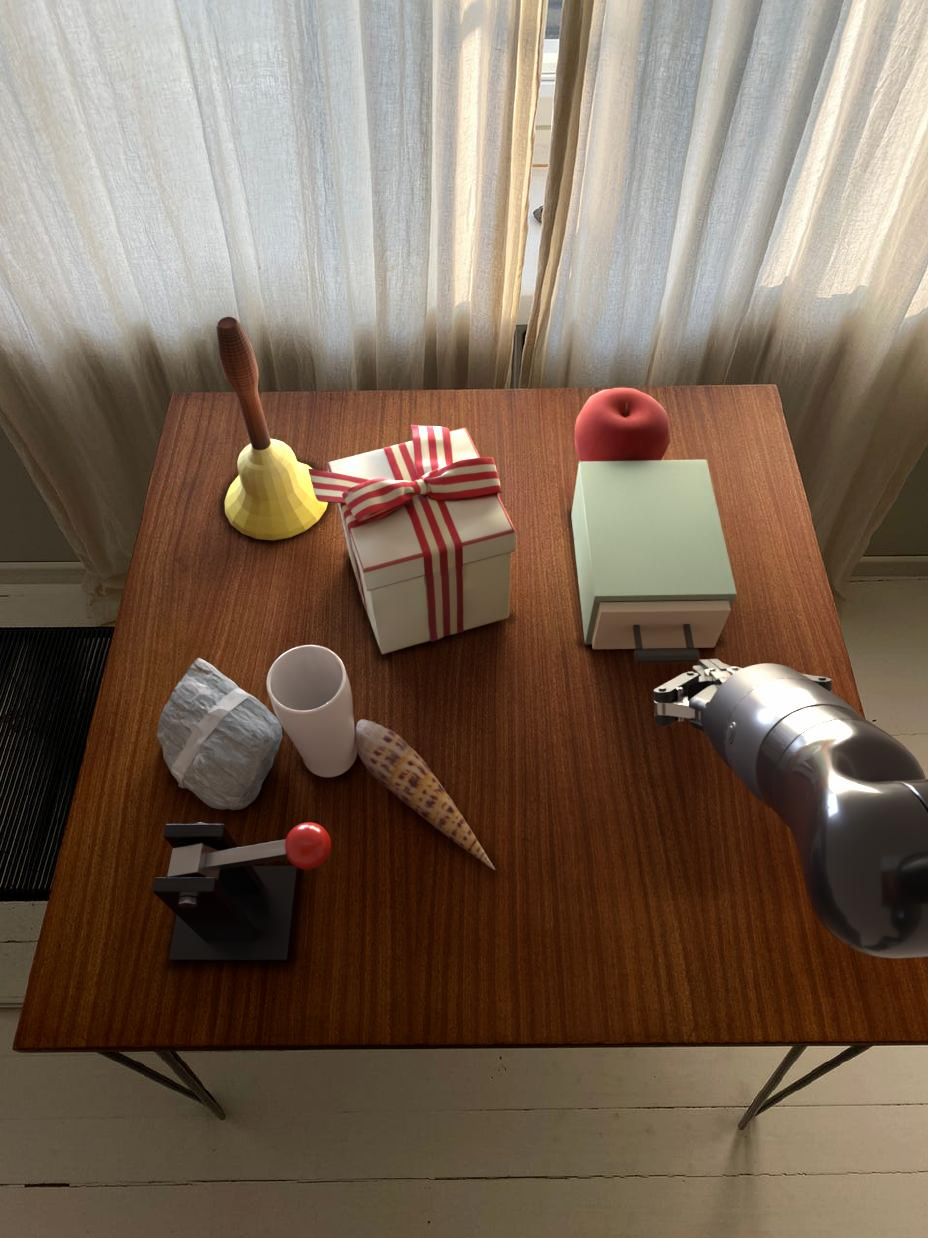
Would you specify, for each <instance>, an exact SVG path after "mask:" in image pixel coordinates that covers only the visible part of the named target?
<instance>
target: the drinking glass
mask: <svg viewBox="0 0 928 1238" xmlns="http://www.w3.org/2000/svg"><path fill="white" fill-rule="evenodd" d="M266 690H267V694H268V697H269V700H270V703H271V706H272V709H273V711H274V715H276V716H275V717H276V718H277V719H278V721H279V723H280V724H281V727H282V729H283V730H284V731H285V733H286V735H287V736H288V737H289V739H290V740H291V742H292V744H293V745H294V747H295V749H296V750H297V752H298V753H299V755H300V757H301V759H302V761H303V764H304V766H305V767H306V768H307V769H308V771H310V773H312V774H314V775H315V776H318V777H321V778H334V777H338V776H340V775H343V774H344V773H346V772H347V771H349V770H350V769H351V767H353V765H354V763H355V761H356V759H357V756H358V750H357V746H356V726H355V715H354V714H355V713H354V699H353V692H352V687H351V683H350V679H349V676H348V673H347V670H346V667H345V665H344V662H343V661H342V659H341V658H340V657H339V656H338V655H337V653H335V652H334V651H333V650H331V649H329V648H328V647H325V646H322V645H317V644H316V645H315V644H305V645H304V644H303V645H299V646H296V647H293V648H291V649H289V650H286V651H285V652H283V653H282V654H281V655H280V656H278V657H277V659H276V660H274V662H273V663H272V665H271V666H270V668H269V670H268V673H267V677H266Z"/></svg>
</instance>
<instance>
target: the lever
mask: <svg viewBox="0 0 928 1238" xmlns="http://www.w3.org/2000/svg"><path fill="white" fill-rule="evenodd" d="M331 848H332V841H331V836H330V835H329V833H328V831H327V830H326V829H325V828H324V827H323V826H322V825H321V824H318V823H316V822H312V821H307V822H302V823H298V824H297V825H295V826H294V827H293V828H291V830H290V831H289V832H288V834H287V836H286V837H285V839H280V840H275V841H269V842H262V843H257V844H252V845H245V846H239V848H233V849H227V850H221V851H218V850H216V849H214V848H212V847H209V846H207V845H205V844H203V843H199V844H194V845H188V846H183V847H177V848H172V850H171V855H170V860H169V865H168V871H167V877H166V878H216V879H217V880H218V877H219V871H220V870H223V869H229V868H236V867H242V866H248V865H252V866H255V865H259V864H260V865H261V864H266V863H272V862H277V861H284V860H288V861H289V862H290V864H292V866H296V867H298V869H301V870H312V869H315V868H318V867H319V866H321V865H322V864H323V863H324V862H325V861H326V860H327V859H328V857H329V856H330V853H331Z"/></svg>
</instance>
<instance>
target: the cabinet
mask: <svg viewBox="0 0 928 1238" xmlns="http://www.w3.org/2000/svg"><path fill="white" fill-rule="evenodd" d="M576 472H577V473H576V479H575V487H574V493H573V501H572V508H571V513H570V514H571V515H570V516H571V525H572V534H573V544H574V554H575V562H576V563H575V564H576V573H577V581H578V591H579V600H580V609H581V610H580V611H581V620H582V629H583V631H582V632H583V641H584V645H592V636H593V632H594V627H595V622H596V618H597V613H598V608H599V604H600V602H603V601H659V600H713V601H717V600H729V604H730V609H732V607H733V605H734V602H735V600H736V598H737V596H738V592H737V588H736V584H735V579H734V575H733V571H732V566H731V561H730V557H729V553H728V548H727V544H726V540H725V535H724V531H723V527H722V521H721V517H720V513H719V508H718V504H717V500H716V496H715V491H714V486H713V481H712V478H711V474H710V469H709V464H708V460H707V459H670V460H669V459H667V460H663V459H661V460H658V461H593V462H581V461H578V466H577V471H576Z"/></svg>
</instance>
